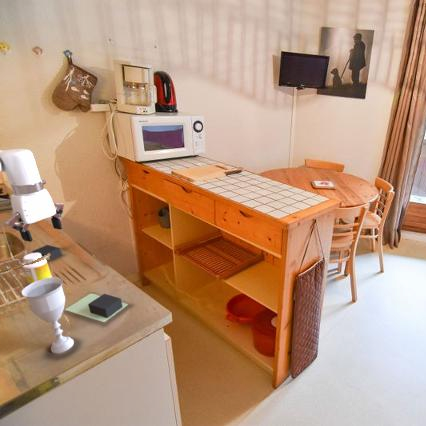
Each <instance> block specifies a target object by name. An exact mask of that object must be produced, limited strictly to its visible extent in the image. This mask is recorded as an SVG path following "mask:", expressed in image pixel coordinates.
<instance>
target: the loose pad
mask: <svg viewBox="0 0 426 426" xmlns="http://www.w3.org/2000/svg"><path fill="white" fill-rule="evenodd" d="M31 253H40V254H41V256H44V255H47V254H48V253H50V254H51V256H50V261H52V260H55V259H57V258H59V257H61V256H62V251H61V248H60V247H57V246H54V245H51V244H50V245H49V244H46V245H44V246H41V247H38V248H36V249H34V250H32V252H31ZM50 261H49V260H47V263H48V262H50Z"/></svg>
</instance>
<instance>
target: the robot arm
mask: <svg viewBox="0 0 426 426" xmlns="http://www.w3.org/2000/svg"><path fill="white" fill-rule="evenodd" d="M3 172H5V174H6V176H7V179H8V181H9V184H10V187H11V190H12V194H10V203H11V209H12V213H13V214H12V216H11V217H9V218H8V219H7V220H6V221H5V225H7V226H8V227H9V228H10V229H13V230H15V231H19V234H20V237H21V239H22V240H23V241H26V242H28V243H32V242H33V241H34V240H33V237H32V234H31V232H30V230H28V228H29V226H30V225H31V224H35V223H37V222H40V221H43V220H45V219H49V218H50V221H51V224H52V227H53V229H55V230H59V231H60V230H63V227H62V222H61V218H62V215H63V212H64V206H65V204H64V203H60V202H54V201H53V199H52V197H51V195H50V193H49V191H48V190H47V188H46V187H45V186H44V185H46V183H47V182H46V180H45V179H42V178H41V175H40V172H39V169H38V166H37V162H36V159H35V156H34V154H33V152H32V151H31V150H30V149H27V148H12V149H6V150H5V149H0V174H1V173H3ZM17 223H18V224H17Z"/></svg>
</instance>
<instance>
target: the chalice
mask: <svg viewBox="0 0 426 426" xmlns="http://www.w3.org/2000/svg"><path fill="white" fill-rule="evenodd" d="M63 283H64V280H63V278H61V277H57V276H52V277H51V278H45V279H41V280H38V281H36V282H33V283H31V284H30V285H29V284H28V285H27V286H25V287H24V288H23V289H22V290H21V295H22V296H23V297H25V298H26V299H27V302H28V305H29V308H30V311H31V312H32V314H34V315H35V316H36V317H37V318H39V319H40V320H42V321H44V322H46V323H52V326H51V329H53V330H54V332H53V335H54V336H56V339H55V340H53V341H52V343H51V346H50V352H51V353H53V354H61V353H64V352H66V351H68V350H70V349H71V348H72V347H73V345H74V344H75V341H74V339H73V338H71V337H70V336H67V335H63V332H64V330H63V329H61V323H59V322H58V320H59V319H61V318H62V315H63V312H64V310H65V304H66V296H65V292H64V289H63Z"/></svg>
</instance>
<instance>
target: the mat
mask: <svg viewBox="0 0 426 426" xmlns="http://www.w3.org/2000/svg"><path fill="white" fill-rule="evenodd" d="M100 296H101V295H98V294H96V293H95V294H94V293H91V292H90V293H89V294H87V295H86V296H84V297H82V298H81V299H79V300H78V301H76V302H74V303H72V304H71V305H69V306H68V307H66V308H64V311H66V312H71V313H72V314H76V315H79V316H83V317H86V318H89V319H92V320H95V321H98V322H102V323H105V322H107V321H108V320H109V319H111V318H112V317H113V316H115V315H116V314H117V313H119V312H120V311H122V310H124V309H125V308H126V307H127V306H128V305H129V304H128V303H126V302H123V301H122V306H123V307H122V308H120V309H119V310H118V311H116V312H115V313H114V314H112V315H111V316H109V317H108V318H106V317H103V316H99V315H96V314H93V313H90V309H89V305H88V304H89V303H91V302H92V301H94V300H95V299H97V298H98V297H100Z"/></svg>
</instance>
